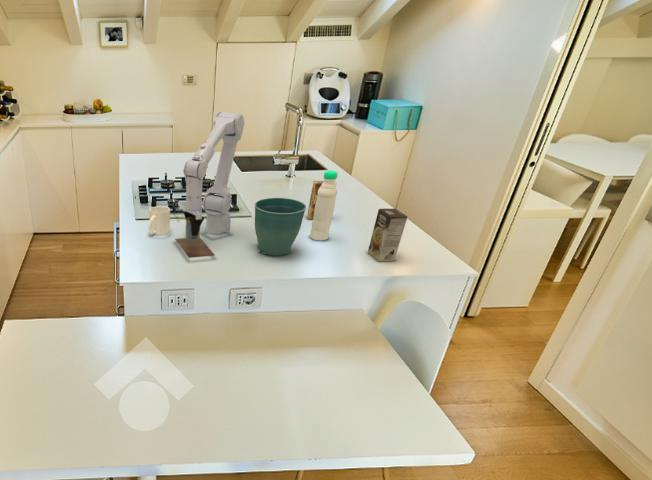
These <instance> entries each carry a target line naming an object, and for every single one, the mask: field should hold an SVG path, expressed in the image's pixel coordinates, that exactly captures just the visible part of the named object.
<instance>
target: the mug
mask: <svg viewBox="0 0 652 480" xmlns="http://www.w3.org/2000/svg"><path fill="white" fill-rule="evenodd" d="M148 211H149V213H148V214H149V217H148V219H149V221H148V232H149V234H150V235H151V236H152V235H156V236H163V235H168V234H169V233H171V208H170V207H168V206H164V205H159V206H157V205H156V206H152V207H150V208H149V209H148Z"/></svg>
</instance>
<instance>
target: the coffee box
mask: <svg viewBox="0 0 652 480" xmlns="http://www.w3.org/2000/svg"><path fill="white" fill-rule="evenodd" d="M407 220H408V216H407V215H406V214H404V213H403V212H401V211H400V210H398V209H396V208H378V210H377V214H376V218H375V222H374V226H373V230H372V234H371V238H370V241H369V246H368V250H367V253H368V254H369V255H370V256H372V257H373V259H375V260H376V261H377V262H395V259H396V257H397V253H398V250H399V247H400V243H401V240H402V237H403V233H404V230H405V227H406V223H407Z"/></svg>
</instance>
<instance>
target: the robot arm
mask: <svg viewBox="0 0 652 480" xmlns="http://www.w3.org/2000/svg"><path fill="white" fill-rule="evenodd" d="M212 123H213V124H212V125H213V127H212V129H211V131H210V134H209V136H208V137H207V139H206V141H205V142H203V143H201V144H200V145H199V147H198V149H197V150H196V152H195V153H194V155H193V157H192V158H191V159H189V160H188V161H186V162H185V163H184V167H183V170H182V171H183V176H184V181H185V183H186V189H185V191H186V192H185V207H183V208H182V214H183V216H184V219H185V220H186V218H187V217H188V219H189V221H190V224H191V233H192V236H197V235H198V233H199V229H200V230H201V226H202V224H203V222H204V220H205V221H206V222H205V233H206V234H209V235H213V236H215V235H221V234H223V233H231V222H232V221H231V220H232V218H231V213H230V212H229V211H230V208H231V205H232V204H231V203H232V202H231V200H232V193H231V192H230V191H229V189H228V188H227V187H228V182H229V179H230V174H231V170H232V166H233V162H234V158H235V154H236V150H237V146H238V142H240V141H241V139H242V136H243V132H244V128H245V117H244V115H243V114H242V113H232V112H222V111H218V112H216V113H215V116H214V118H213V122H212ZM221 140H222V148H221V152H220V156H219V160H218V165H217V169H216V172H215V173H216V174H215V178H214V182H213V185H212V186H210V187H209V188H208V189H206V192H205V195H204V197H203V181H204V178H205V177H206V175H207V170H208V167H209V163H210V161H211V160H212V158H213V157H214V155H215V148H216V147H217V145H218V144H219V143H220V142H221ZM203 210H204V213H206V219H205V216H203V214H202V211H203Z"/></svg>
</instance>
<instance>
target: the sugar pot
mask: <svg viewBox="0 0 652 480" xmlns="http://www.w3.org/2000/svg"><path fill="white" fill-rule="evenodd" d="M184 234H185V235H184V238H187V239H198V238H199V237H200V238H201V228H200V229H199V233H198V235H197V236H192V233H191V224H190V221H189V219H188V217H187V218H186V219H185V233H184Z"/></svg>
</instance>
